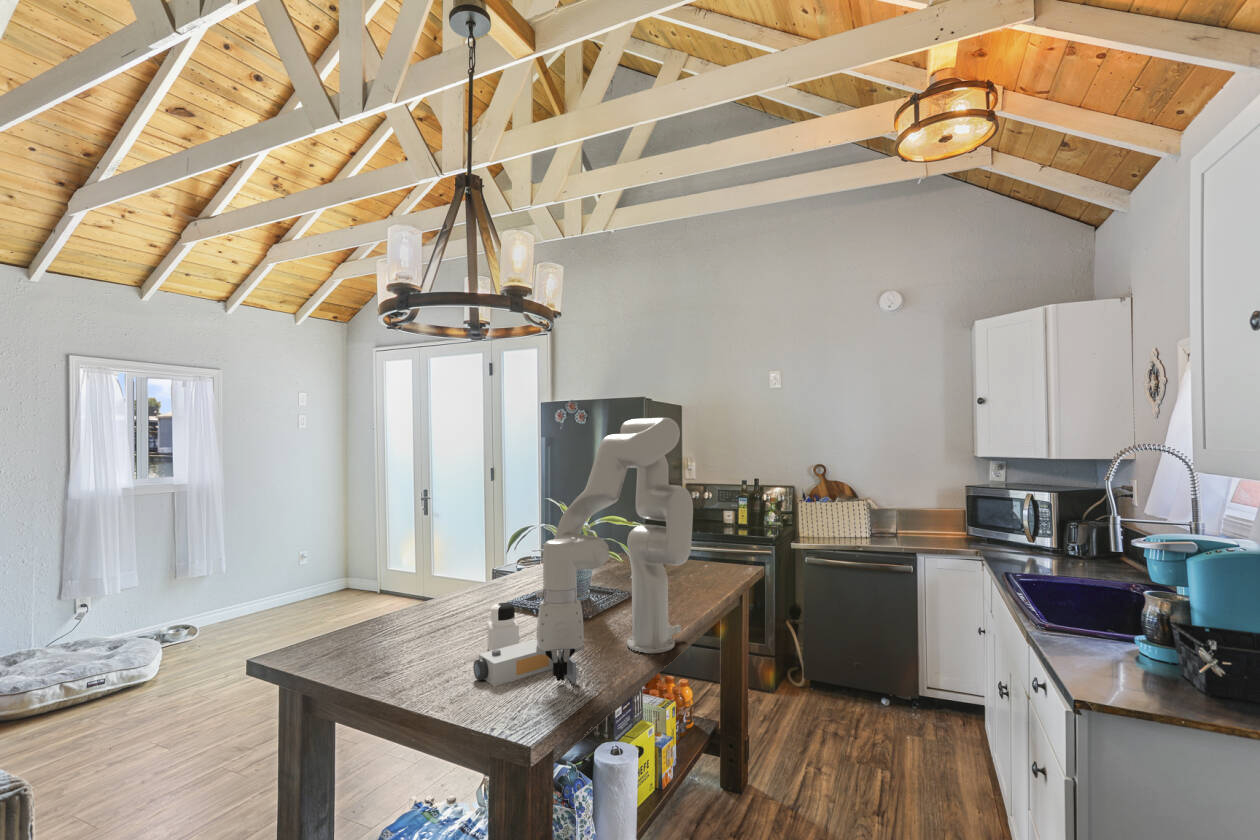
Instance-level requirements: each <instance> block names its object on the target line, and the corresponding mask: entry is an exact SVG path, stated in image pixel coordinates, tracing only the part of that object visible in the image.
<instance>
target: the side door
mask: <svg viewBox="0 0 1260 840" xmlns="http://www.w3.org/2000/svg"><path fill="white" fill-rule="evenodd" d="M562 651H563V650H557V655H558V657H559V661H560V658H561V656H562ZM579 669H580V667H579V666H578V665H577V661H575V660H574V658H573V656H571V657H570V658H569V660H568V662H567V675H565V676H566V677H567V679H568V680H569V681H570V682H571V683H572V684H573V685H574V684H577V678H579V675H580V674H579V672H580V671H579Z"/></svg>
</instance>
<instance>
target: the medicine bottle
mask: <svg viewBox="0 0 1260 840" xmlns="http://www.w3.org/2000/svg"><path fill="white" fill-rule="evenodd" d="M515 608H516V607H515V605H514V604H513V603H510V602H499V603H495V604H494V605H492V606H491V607H490V621H487V623H486V625H487V633H486V634H487V650H488V651H492V650H496V649H500V648H504V647H507V646H511V645H515V644H519V643H520V626H519V624H518V622H517V621H516V619H515V618H516V616H515V610H516V609H515Z"/></svg>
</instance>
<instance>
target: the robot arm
mask: <svg viewBox="0 0 1260 840" xmlns="http://www.w3.org/2000/svg"><path fill="white" fill-rule="evenodd" d="M680 433H681V432H680V427H679V425H678V423H677V422H676V421H675V420H674V419H673V418H670V417H645V418H644V417H640V418H632V419H629V420H626V421H624V422H623V423H622V424H621V426H620V432H619V433H614V434H613V433H612V434H609V435H607V436H604V437H603V438H602V440H601V441H600V443H599V445H598V449H597V452H596V455H595V458H594V461H593V464H592V467H591V470H590V473H589V476H588V480H587V482H586V485H585V488H584V490H583V491H582V492H581V493H580V494H579V495H578V496H577V497H576V498H575V499H574V500H573V502H572V503H571V504H570V505H569V506H568V507H567V509H566V510H565V511H564V513H563V514H562V516H561V518H560V519H559V523H558V525H557V528H556V530H555V531H556V532H555V535H554V538H553V539H549V540H546V541H545V542H544V543H543V547H542V548H543V550H542V566H543V567H542V581H543V582H542V589H541V590H539V591H536V598H537V599H538V598H539V599H542V600H541V601H540V603H539V607H538V613H537V623H536V625H537V627H536V639H537V647H536V653H537V654H541V655H547V656H548V657H549V658H550V659H551V660H552V661H553V669H552V675H553V677H555V679H556V681H557V682H560V681H565V676H566V675H567V662H568V660H569V658H570V657H573V655H574V654H575V653H577V652H581V651H583V650H584V649H585V646H584V642H585V638H584V637H585V634H584V617H583V610H582V604H581V600H579V599H578V598H577V597H578V593H577V592H578V590H577V589H578V588H577V586H578V585H577V584H578V581H577V578H578V577H577V575H578V574H577V572H578V570H579V571H580V570H595V569H598V568H601V567H602V566H603V565H605V564H606V562H607V561H608V559H609V555H610V548H609V545H608V543H607V542H606V541H605V540H604V539H603V538H600V537H598V536H595V535H590V534H589V535H587V534H582V533H581V532H582V530H583V528H584V526H585V524H586V523H587V522H588V521H589V519H590V518H591V517H592V516H594V515H595V514H597V513H598V512H600V511H602V510H604V509H606V508H608V507H610V506H612V505H613V504H615V503H617V502H618V500H619V499H620V496H621V492H622V490H623V489H622V488H623V485H624V481H625V478H626V475H627V473H628V469H636V486H635V491H636V492H635V512H636V514H637V515H638V516H639V517H640V518H642V519H646V520H652V521H660V522H665V526H664V525H655V524H640V525H637V526H635V527H633V529H631V530H630V532H629V533H628V536H627V541H626V542H627V543H626V545H627V551H628V557H629V561H630V570H631V609H632V610H631V614H632V619H631V620H632V621H631V622H632V636H631V637H629V638H628V639H627V640H626V646H628V647H629V648H630V649H629V648H628V647H627V648H628V649H629V650H631V649H632V650H631V651H633V650H635V651H634V652H636V651H639V652H638V653H640V652H644V653H643V654H659V653H665V652H668V651H671V650H672V649H674V648H675V645H676V644H675V639H674V638H673V635H674V634H677V633H681V632H682V626H681V625H680V624H676V625H673V626H672V625H671V624H669V591H668V590H669V589H668V588H669V586H668V585H669V583H668V582H669V579H668V575H667V571H666V568H665V566H667V565H668V566H681V565H684V564H685V563H686V562H687V561H688V559H689V557H690V554H691V551H692V539H693V521H694V520H693V518H694V504H693V498H692V496H691V495H692V494H691V493H690V491H689V490H688V489H687V488H686V487H685V486H683V485H679V484H678V485H677V484H669V464H668V463H669V462H668V460H667V457H666V456H665V455H667V454H668V453H670V452H671V451H672V450H673V449H674V448H675V447H676V446H677V444H678V443H679V441H680V436H681V434H680ZM664 565H665V566H664ZM558 650H563V651H562V656H561V658H560V661H559V657H558Z"/></svg>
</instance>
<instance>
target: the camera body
mask: <svg viewBox="0 0 1260 840" xmlns="http://www.w3.org/2000/svg"><path fill="white" fill-rule="evenodd" d="M536 647H537V638H535V639H531V640H528V641H527V640H526V641H524V642H519V644H515V645H511V646H507V647H504V648H500V649H496V650H492V651H489V650H488V651H485V652H481V653H478V658H477V659H475V660H474V662H473V667H472V668H473V669H472V670H473V674H474V677H475V679H476V680H477V681H481V680H484V681H486V682H487V683H489V684H491V685H492V686H493V687H497V686H501V685H504V684H506V683H511V682H514V681H517V680H520V679H523V678H527V677H530V676H533V675H538V674H540V673H543V672H546V671H549V670H553V661H552V660H551V659H550V658H549V657H548V656H547V655H541V654H537V653H536Z"/></svg>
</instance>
